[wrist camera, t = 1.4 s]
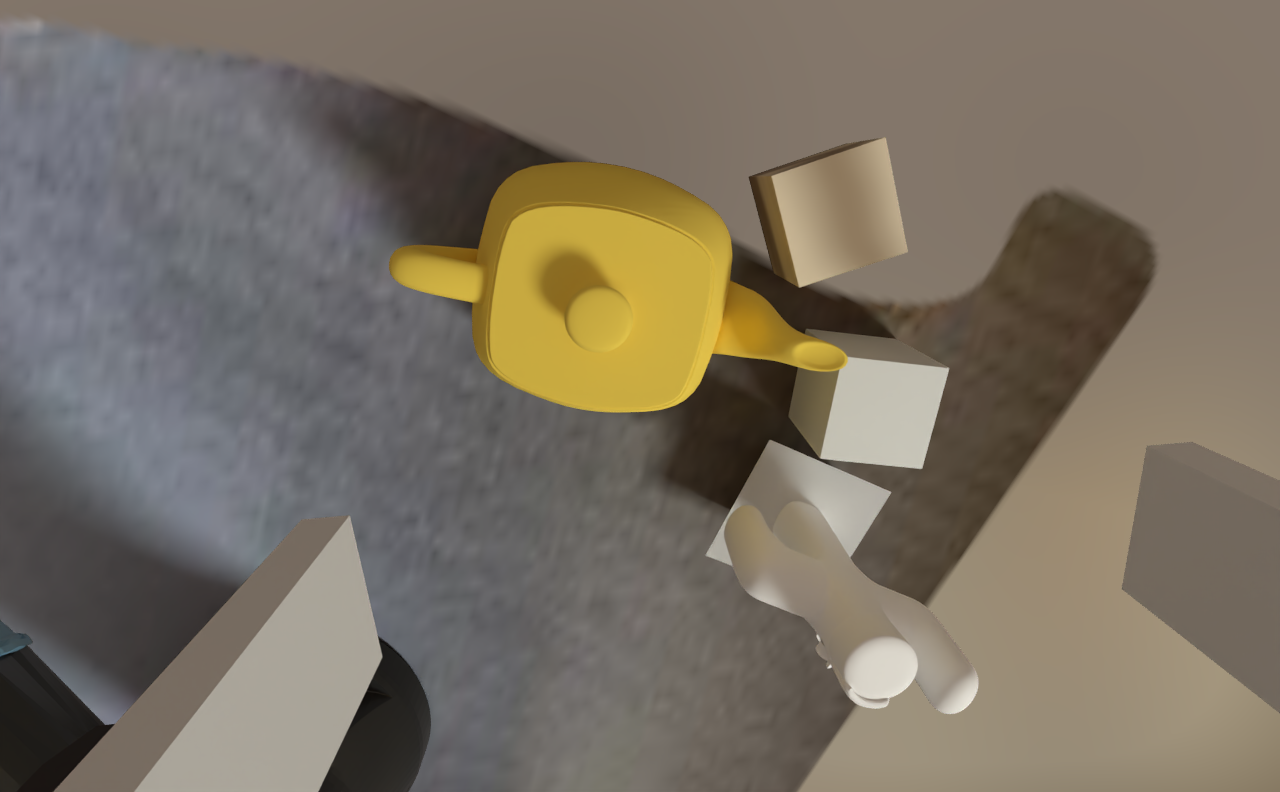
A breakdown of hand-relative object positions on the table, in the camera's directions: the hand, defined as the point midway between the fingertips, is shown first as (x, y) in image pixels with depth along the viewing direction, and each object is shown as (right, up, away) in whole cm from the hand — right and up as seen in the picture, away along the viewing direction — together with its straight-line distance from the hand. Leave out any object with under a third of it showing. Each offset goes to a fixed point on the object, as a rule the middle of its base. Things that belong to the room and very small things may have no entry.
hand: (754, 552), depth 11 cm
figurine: (+6, -3, +27) cm, 28 cm away
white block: (+9, +4, +25) cm, 27 cm away
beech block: (+7, +12, +22) cm, 26 cm away
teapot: (-3, +9, +23) cm, 25 cm away
